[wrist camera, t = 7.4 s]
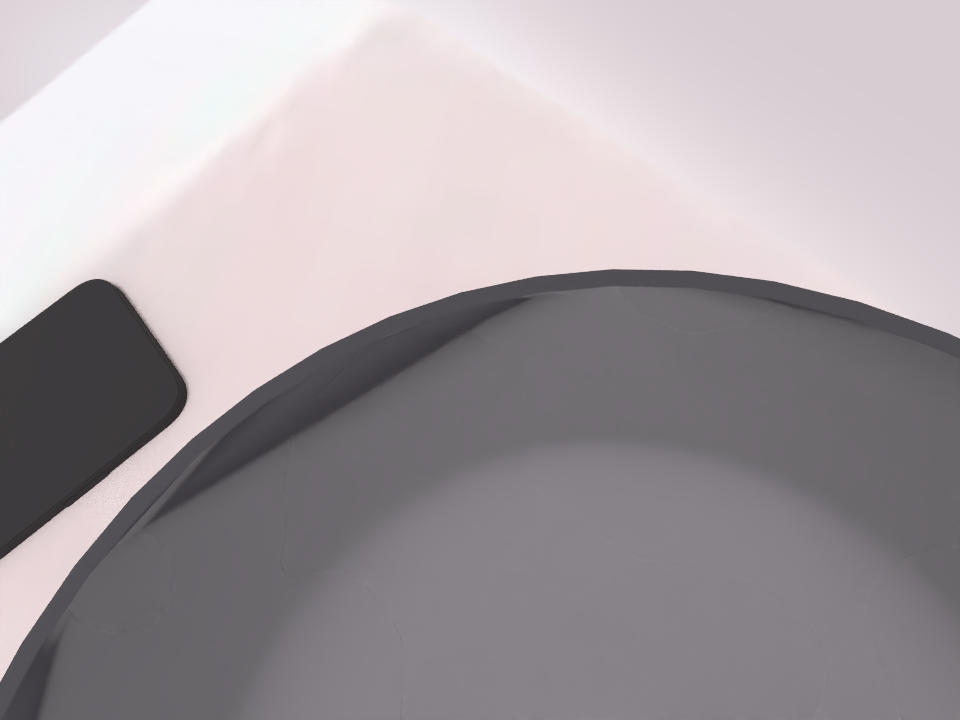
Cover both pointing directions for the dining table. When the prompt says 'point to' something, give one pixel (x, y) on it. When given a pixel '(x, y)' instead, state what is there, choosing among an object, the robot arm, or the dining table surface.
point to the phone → (76, 403)
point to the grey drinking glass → (544, 523)
